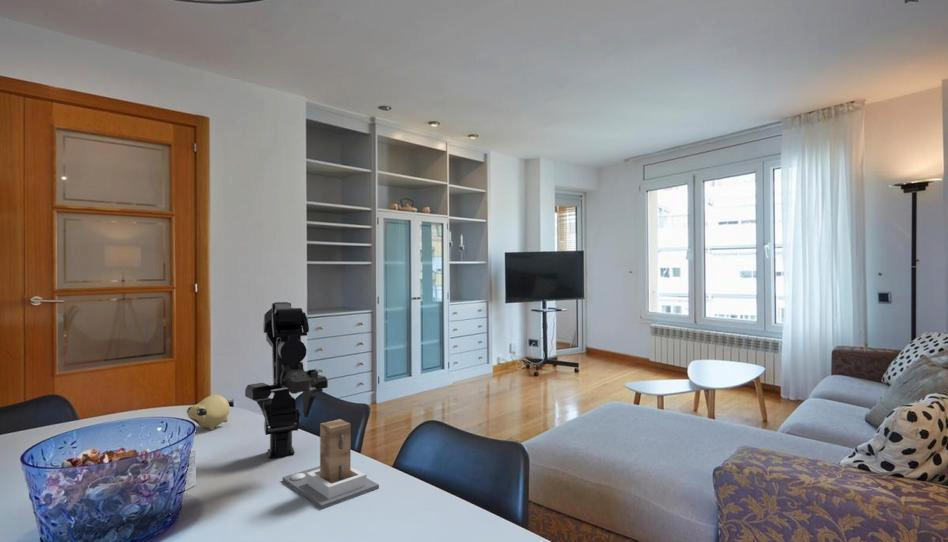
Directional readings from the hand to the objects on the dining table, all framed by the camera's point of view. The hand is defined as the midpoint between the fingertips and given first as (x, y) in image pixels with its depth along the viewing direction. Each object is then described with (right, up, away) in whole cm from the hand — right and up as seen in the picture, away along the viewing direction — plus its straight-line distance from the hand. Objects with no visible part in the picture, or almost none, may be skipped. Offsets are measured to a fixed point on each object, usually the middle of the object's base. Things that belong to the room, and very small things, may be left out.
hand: (288, 421), depth 116 cm
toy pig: (-40, -14, +36) cm, 56 cm away
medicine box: (-23, -13, -8) cm, 28 cm away
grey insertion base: (+12, -13, -6) cm, 19 cm away
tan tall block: (+14, -12, -8) cm, 20 cm away
